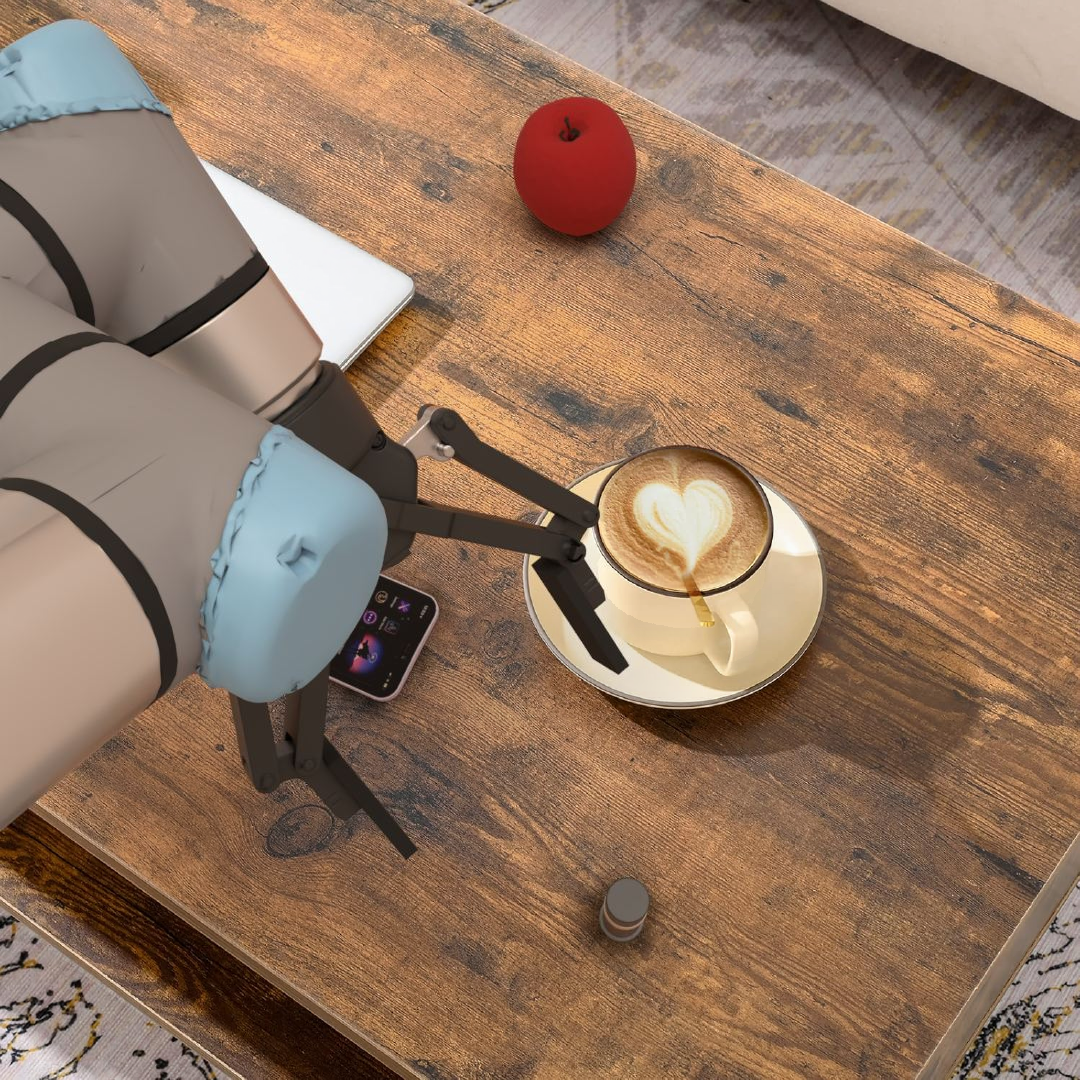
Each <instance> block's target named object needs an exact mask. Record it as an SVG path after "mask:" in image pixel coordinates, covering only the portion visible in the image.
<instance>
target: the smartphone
mask: <svg viewBox="0 0 1080 1080" xmlns="http://www.w3.org/2000/svg"><path fill="white" fill-rule="evenodd" d="M439 615H440V607H439V604H438V602H437V600H436V598H435V597H434V596H432V595H431V594H429V593H427V592H425V591H423V590H420V589H418V588H415V587H413V586H410V585H408V584H406V583H404V582H401V581H399V580H396V579H394V578H391V577H389V576H387V575H384V574H382V573H380V575H379V579H378V581H377V584H376V587H375V589H374V591H373V594H372V596H371V598H370V600H369V602H368V605H367V607H366V609H365V611H364V612H363V614H362V616H361V618H360V620H359V621H358V623H357V625H356V626H355V628H354V630H353V631H352V633H351V634H350V636H349V637H348V639H347V640H346V642H345V643H344V644H343V646H342V647H341V649H340V650H339V651H338V652H337V654H336V655H335V656H334V657H333V659H332V660H331V661H330V672H329V681H332V682H335V683H336V684H339V685H341V686H343V687H346V688H348V689H350V690H352V691H355V692H356V693H359V694H361V695H363V696H366V697H368V698H370V699H372V700H375V701H377V702H380V703H381V702H382V703H383V702H389V701H391V700H393V699H394V698H396V697H397V696H398V695H399V694H400V693H401V691H402V690H403V687H404V685H405V683H406V681H407V679H408V677H409V675H410V673H411V671H412V669H413V667H414V665H415V663H416V661H417V659H418V657H419V655H420V653H421V651H422V649H423V648H424V646H425V644H426V642H427V640H428V638H429V636H430V634H431V632H432V631H433V628H434V626H435V625H436V623H437V620H438V618H439Z"/></svg>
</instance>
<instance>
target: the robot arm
mask: <svg viewBox="0 0 1080 1080" xmlns="http://www.w3.org/2000/svg"><path fill="white" fill-rule="evenodd" d="M323 348H324V342H323V340H322V339H321V337H320V336H319V334H318V333H317V332H316V330H315V328H314V327H313V326H312V325H311V323H310V321H309V320H308V319H307V317H306V315H305V314H304V313H303V312H302V310H301V309H300V307H299V305H298V304H297V303H296V301H295V299H293V297H292V296H291V294H290V293H289V291H288V290H287V289H286V287H285V285H284V284H283V283H282V281H281V280H280V278H279V277H278V276H277V274H276V273H275V271H274V270H273V268H272V266H270V265H269V264H268V262H267V261H266V259H265V258H264V257H263V255H262V253H261V252H260V251H259V248H258V247H257V245H256V244H255V242H254V241H253V239H252V238H251V236H250V234H249V233H248V231H247V230H246V229H245V227H244V226H243V224H242V223H241V221H240V219H239V218H238V217H237V216H236V214H235V212H234V211H233V210H232V208H231V206H230V204H228V202H227V201H226V199H225V197H224V195H223V194H222V193H221V191H220V190H219V188H218V187H217V185H216V183H215V182H214V180H213V178H211V176H210V174H209V173H208V172H207V170H206V168H205V167H204V165H203V164H202V162H201V161H200V159H199V157H198V156H197V154H196V153H195V152H194V150H193V149H192V147H191V146H190V144H189V143H188V141H187V140H186V138H185V137H184V135H183V134H182V132H181V130H180V129H179V127H178V126H177V124H176V123H175V119H174V117H173V114H172V112H171V111H170V109H169V108H168V107H167V106H166V105H165V104H163V103H162V102H161V101H160V100H159V99H158V97H157V96H156V94H155V93H154V92H153V91H152V89H151V88H150V86H149V85H148V84H147V82H146V80H145V79H144V78H143V77H142V76H141V75H140V73H139V72H138V71H137V69H136V68H135V66H134V65H133V64H132V62H131V61H130V60H129V59H128V58H127V57H126V55H125V54H124V53H123V52H122V51H121V49H120V48H119V47H118V45H117V44H115V42H114V40H113V39H112V38H111V37H110V36H109V35H108V34H107V33H106V32H105V31H104V30H103V29H102V28H100V26H97V25H96V24H94V23H92V22H90V21H87V20H82V19H77V18H76V19H75V18H67V19H61V20H57V21H54V22H52V23H49V24H47V25H44V26H42V27H39V28H37V29H36V30H34V31H31V32H29V33H27V34H25V35H24V36H22V37H20V38H18V39H17V40H15V41H13V42H12V43H9V44H8V45H7V46H5V47H3V48H1V50H0V832H2V831H3V830H4V829H6V828H7V827H8V826H9V825H10V824H12V823H13V822H14V821H15V820H16V819H17V818H19V817H20V816H21V815H22V814H23V813H25V812H26V811H27V810H28V809H29V808H31V806H33V805H34V804H36V802H38V801H39V800H40V799H42V797H43V796H45V795H46V794H47V793H48V792H49V791H51V790H52V789H53V788H55V786H57V785H58V784H59V783H61V781H62V780H64V779H65V778H66V777H67V776H69V775H70V774H71V773H73V772H74V771H75V770H76V769H77V768H78V767H79V766H80V765H82V764H83V763H84V762H85V761H86V760H87V759H88V758H90V757H91V756H92V755H93V754H95V753H96V752H97V751H98V750H99V749H101V748H102V747H103V746H104V745H106V744H107V743H108V742H110V740H111V739H113V738H114V737H115V736H116V735H117V734H119V733H120V732H121V731H123V729H125V728H126V727H127V726H128V725H129V724H131V722H133V721H134V720H135V719H136V718H138V717H139V716H141V714H143V712H145V711H146V710H147V709H148V708H150V707H151V706H152V705H154V704H155V703H156V702H157V701H158V700H160V699H161V698H162V697H164V696H165V695H166V694H168V693H169V692H170V691H172V690H174V689H175V688H176V687H178V686H179V685H180V684H181V683H182V682H183V681H185V680H186V679H187V678H188V677H189V676H191V675H197V676H199V678H200V679H201V680H202V681H203V683H205V684H206V686H208V687H209V689H211V690H216V689H218V688H219V689H222V690H223V689H224V690H225V691H227V693H228V699H229V703H230V709H231V715H232V719H233V724H234V730H235V735H236V741H237V745H238V751H239V755H240V760H241V761H240V762H241V765H242V767H243V770H244V772H245V774H246V775H247V777H248V778H249V780H250V782H251V783H252V786H253V787H254V789H255V791H257V792H258V793H260V794H264V795H268V794H271V793H273V792H275V791H276V790H277V789H279V787H280V785H281V784H283V783H285V782H287V781H290V780H301V781H303V782H305V783H306V784H307V785H308V786H309V787H310V788H311V790H312V791H313V792H314V793H315V794H316V795H317V797H318V798H319V799H320V800H321V801H322V802H323V803H324V805H325V806H326V807H327V809H329V810H330V812H331V813H332V814H333V815H334V816H335V817H336V818H337V819H339V820H341V821H343V822H347V821H348V820H350V819H351V818H352V817H354V816H355V814H357V813H358V812H359V811H360V810H363V811H364V812H365V813H366V815H367V816H368V818H370V820H371V821H372V822H373V823H374V824H375V825H376V827H377V828H378V829H379V830H380V831H381V833H382V834H383V835H384V836H385V837H386V839H387V840H388V841H389V842H390V843H391V844H392V846H393V847H394V848H395V849H396V850H397V851H398V853H399V854H400V855H401V856H402V857H403V859H404V860H405V861H408V860H409V858H411V857H412V856H413V855H414V854H415V853H416V852H417V851H419V848H418V847H417V846H416V844H415V843H414V842H413V841H412V840H411V839H410V837H409V836H408V835H407V833H406V832H405V831H404V829H403V828H402V827H401V826H400V825H399V823H398V822H397V820H396V819H395V818H394V817H393V816H392V815H391V813H390V812H389V811H388V809H387V808H385V806H384V805H383V804H382V803H381V800H379V799H378V797H377V796H376V795H375V794H374V793H373V792H372V790H371V789H370V788H369V787H368V786H367V784H366V783H365V782H364V781H363V779H362V778H361V777H360V775H359V774H358V773H357V772H356V771H355V770H354V769H353V768H352V766H351V765H350V764H349V762H348V761H347V760H346V759H345V758H344V756H342V754H341V753H340V751H338V750H337V748H336V747H335V746H334V744H332V742H331V741H330V740H329V738H328V737H327V736H326V735H325V729H326V717H327V705H328V694H329V681H330V679H329V672H330V661H331V660H332V659H333V657H334V656H335V655H336V654H337V652H338V651H339V650H340V649H341V647H342V646H343V644H344V643H345V642H346V640H347V639H348V637H349V636H350V634H351V633H352V631H353V630H354V628H355V626H356V625H357V623H358V621H359V620H360V618H361V616H362V614H363V612H364V611H365V609H366V607H367V605H368V602H369V600H370V598H371V596H372V594H373V591H374V589H375V587H376V584H377V581H378V579H379V575H380V574H382V573H383V572H384V571H386V570H388V569H391V568H392V567H395V566H397V565H399V564H400V563H402V562H403V561H405V559H407V558H408V557H409V556H411V554H412V552H411V550H410V549H411V548H412V546H413V545H414V542H415V540H416V537H417V534H420V535H425V536H430V537H435V538H440V539H446V540H448V539H452V540H457V541H461V542H466V543H471V544H476V545H482V546H486V547H491V548H496V549H502V550H505V551H509V552H510V551H511V552H516V553H519V554H525V555H531V556H535V557H539V558H538V559H537V560H535V561H534V562H533V563H531V564H530V567H532V569H533V570H534V572H535V573H536V575H537V577H538V578H539V580H540V581H541V583H542V584H543V586H544V587H545V589H546V590H547V592H548V594H549V596H550V597H551V598H552V599H553V601H554V603H555V604H556V606H557V607H558V609H559V610H560V612H561V613H562V615H563V616H564V618H565V619H566V621H567V622H568V624H569V626H570V627H571V628H572V631H574V633H575V635H576V636H577V638H578V639H579V641H580V643H581V644H582V645H583V646H584V649H585V650H586V651H587V653H588V655H589V656H590V657H591V659H592V660H594V661H595V662H597V663H598V664H600V665H602V666H603V667H605V668H606V669H608V670H609V671H611V672H613V673H615V674H616V675H618V676H619V675H621V674H622V673H623V672H624V671H625V670H626V669H628V668H629V667H630V664H629V662H628V661H627V659H626V658H625V656H624V654H623V652H622V651H621V649H620V648H619V647H618V645H617V643H616V642H615V640H614V639H613V637H612V635H611V634H610V632H609V631H608V629H607V628H606V626H605V624H604V623H603V621H602V619H600V616H599V615H598V614H597V612H596V609H598V608H599V607H600V606H601V605H603V604H604V603H605V602H606V600H607V599H606V594H605V593H606V592H605V589H604V588H603V586H602V584H601V583H600V582H599V580H598V578H597V576H596V575H595V573H594V572H593V570H592V569H591V567H590V565H589V564H588V562H587V560H586V559H585V558H586V556H587V547H586V545H585V544H584V542H582V538H583V537H584V535H585V534H586V532H587V530H588V529H591V528H594V527H595V526H596V525H597V524H598V523H599V521H600V518H601V511H600V509H599V507H598V506H597V505H596V504H595V503H593V502H591V501H589V500H587V499H585V498H584V497H583V496H582V497H581V496H580V495H578V494H577V493H575V492H573V491H571V490H569V489H568V488H566V487H564V486H563V485H560V484H559V483H557V482H555V481H553V480H551V479H550V478H548V477H547V476H544V475H542V474H541V473H539V472H537V471H535V470H534V469H532V468H531V467H528V466H527V465H525V464H523V463H521V462H519V461H518V460H516V459H514V458H512V457H511V456H510V455H509V456H508V455H506V454H505V453H504V452H502V451H500V450H498V449H496V448H494V447H493V446H491V445H489V444H487V443H485V442H484V441H482V440H480V438H479V437H478V436H477V435H476V433H475V432H474V431H473V430H472V428H471V427H470V426H469V425H468V423H467V422H466V421H465V420H464V419H463V417H462V416H461V415H460V414H459V413H458V412H457V411H456V410H454V409H451V408H447V407H445V406H442V405H437V404H434V403H431V402H430V403H425V404H423V405H421V406H420V407H419V409H418V410H417V413H416V422H415V423H414V424H413V425H412V426H411V427H410V428H409V429H408V430H407V431H406V432H405V433H404V434H403V435H402V436H401V437H399V438H398V440H397V441H395V440H393V439H392V438H391V437H389V436H388V435H387V433H386V432H385V431H384V430H383V428H382V427H381V426H380V424H379V422H378V421H377V420H376V418H375V416H374V415H373V414H372V412H371V411H370V409H369V407H368V406H367V405H366V403H365V402H364V401H363V398H362V397H361V396H360V395H359V393H358V392H357V391H356V389H355V387H354V386H353V385H352V382H351V381H350V380H349V378H348V377H347V375H346V374H345V373H344V371H343V370H342V369H341V367H340V365H339V364H338V363H336V362H331V361H330V360H327V359H320V358H321V357H322V353H323ZM424 457H427V458H429V459H431V460H433V461H436V462H439V463H446V462H448V461H450V460H454V461H456V462H457V463H459V464H461V465H462V466H465V467H466V468H468V469H470V470H472V471H474V472H476V473H478V474H480V475H481V476H483V477H485V478H487V479H489V480H490V481H492V482H494V483H496V484H497V485H499V486H502V487H503V488H504V489H507V490H509V491H511V492H512V493H514V494H516V495H518V496H519V497H522V498H523V499H525V500H527V501H529V502H531V503H533V504H535V505H536V506H539V507H540V508H542V509H544V510H546V511H548V512H550V513H551V514H553V515H552V517H551V519H550V521H549V522H548V524H547V525H546V526H544V525H540V524H535V523H531V522H525V521H521V520H517V519H512V518H508V517H503V516H499V515H494V514H491V513H490V514H489V513H486V512H485V513H484V512H480V511H476V510H471V509H467V508H461V507H457V506H453V505H448V504H443V503H439V502H435V501H432V500H428V499H425V498H421V497H419V495H418V494H419V493H418V492H419V491H418V490H419V464H418V461H419V460H420V459H421V458H424ZM283 696H285V698H284V699H285V702H284V711H283V712H284V714H283V715H284V716H283V725H282V738H281V739H279V738H278V739H277V743H276V742H275V738H274V732H273V727H272V726H273V725H272V721H271V715H270V710H269V709H270V708H269V704H268V703H273V702H275V701H277V700H279V699H280V698H281V697H283Z"/></svg>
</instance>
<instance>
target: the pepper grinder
mask: <svg viewBox="0 0 1080 1080" xmlns="http://www.w3.org/2000/svg"><path fill="white" fill-rule="evenodd" d="M649 893H650V892H649V890H648V888H647V887H646V886H645V885H644V883H642V882H641V881H640V880H638V879H636V878H633V877H622V878H619V879H617V880H615V881H613V882H612V883H611V885H610V886H609V887H608V889H607V891H606V894H605V897H604V900H603V903H602V904H601V906H600V909H599V913H598V923H599V927H600V929H601V931H602V933H604V935H605V936H606V937H607V938H608V939H610V940H612V941H614V942H619V943H625V942H626V943H627V942H630V941H632V940H634V939H636V937H638V936H639V934H640V933H641V931H642V930H643V927H644V925H645V919H646V917H647V915H648V911H649V909H650V906H651V905H650V904H651V897H650V894H649Z"/></svg>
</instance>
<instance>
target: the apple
mask: <svg viewBox="0 0 1080 1080" xmlns="http://www.w3.org/2000/svg"><path fill="white" fill-rule="evenodd" d="M636 154H637V152H636V148H635V143H634V141H633V138H632V135H631V133H630V132H629V129H628V127H627V126H626V124H625V123H624V122H623V120H622V118H621V117H620V115H619V114H618V113H617V112H616V110H614V109H613V108H612V106H610V105H608V104H607V103H605V102H603V101H602V100H601V99H597V98H595V97H590V96H589V97H588V96H569V97H563V98H560V99H555V100H552V101H551V102H548V103H546V104H543V105H541V106H539V107H538V108H537V109H536V110H535V111H533V112H532V113H531V114H529V117H528V118H527V119H526V121H525V122H524V124H523V126H522V128H521V129H520V132H519V134H518V137H517V139H516V143H515V148H514V152H513V161H512V177H513V180H514V181H513V182H514V185H515V189H516V190H517V193H518V195H519V197H520V198H521V200H522V202H523V203H524V205H525V206H526V207H527V208H528V209H529V210H530V211H531V213H532V215H534V217H536V218H537V219H538V220H539V221H540V222H541V223H542V224H543V225H545V226H546V227H548V228H550V229H553V230H555V231H558V232H559V233H562V234H565V235H570V236H573V237H576V236H579V237H580V236H586V235H591V234H593V233H596V232H598V231H601V230H604V229H605V228H606V227H608V226H609V225H610V224H612V223H613V222H614V221H615V220H616V219H617V218H618V217H619V216H620V214H621V213H622V212H623V210H624V209H625V208H626V206H627V205H628V202H629V201H630V198H631V196H632V194H633V191H634V188H635V185H636V180H637V179H636V178H637V155H636Z"/></svg>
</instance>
